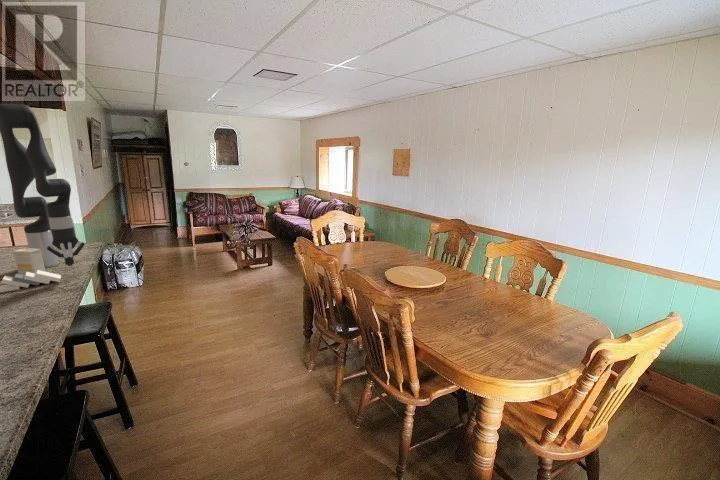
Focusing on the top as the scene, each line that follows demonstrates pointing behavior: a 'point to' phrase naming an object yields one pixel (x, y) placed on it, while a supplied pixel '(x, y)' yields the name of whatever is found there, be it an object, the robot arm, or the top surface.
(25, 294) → the top surface
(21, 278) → the charcoal domino
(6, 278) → the ivory domino
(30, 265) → the supplement box
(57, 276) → the ivory domino
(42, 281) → the ivory domino
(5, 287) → the ivory domino
